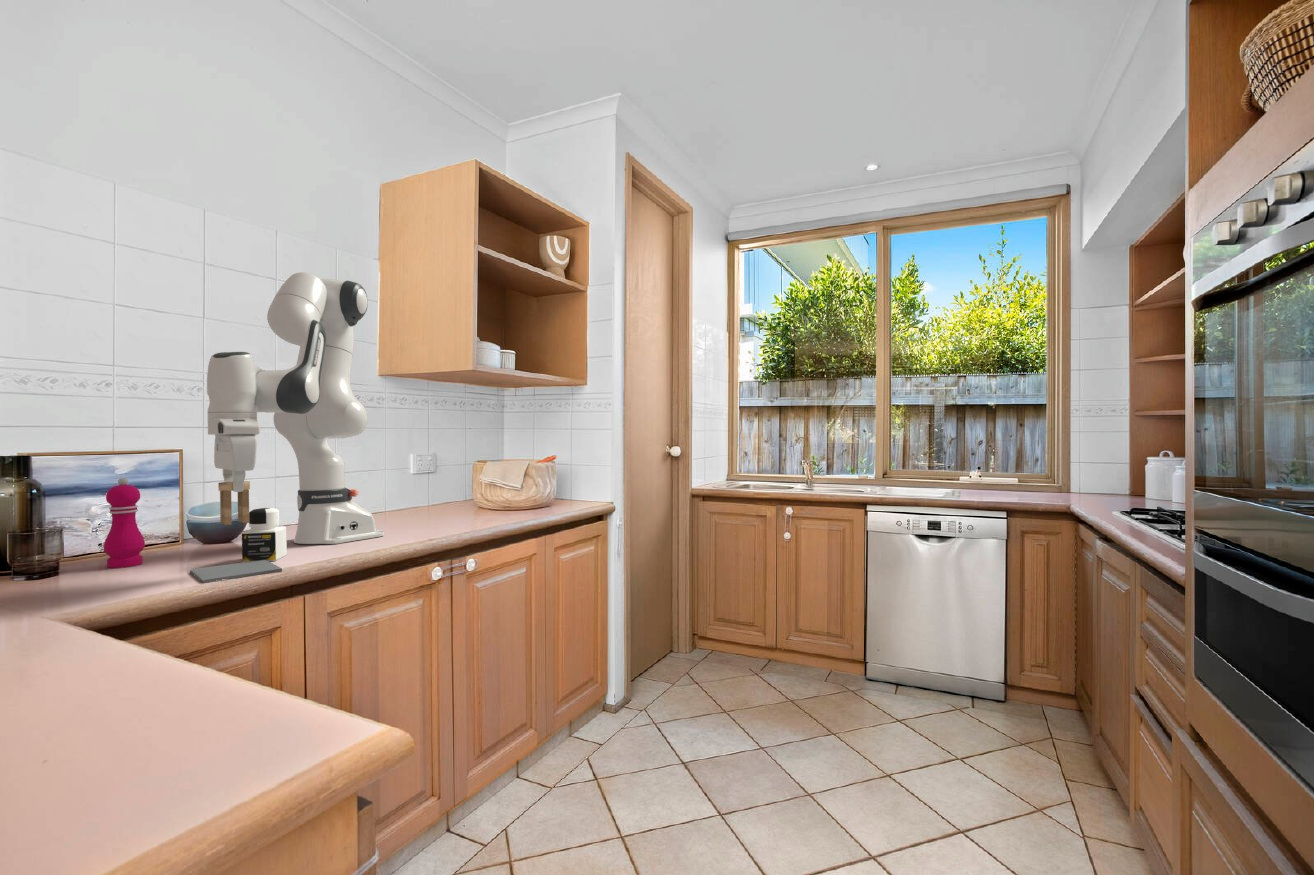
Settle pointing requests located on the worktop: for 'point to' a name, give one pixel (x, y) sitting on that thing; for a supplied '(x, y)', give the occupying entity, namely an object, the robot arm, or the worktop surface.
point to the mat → (235, 570)
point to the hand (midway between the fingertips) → (234, 490)
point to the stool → (226, 505)
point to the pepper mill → (123, 527)
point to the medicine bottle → (264, 536)
